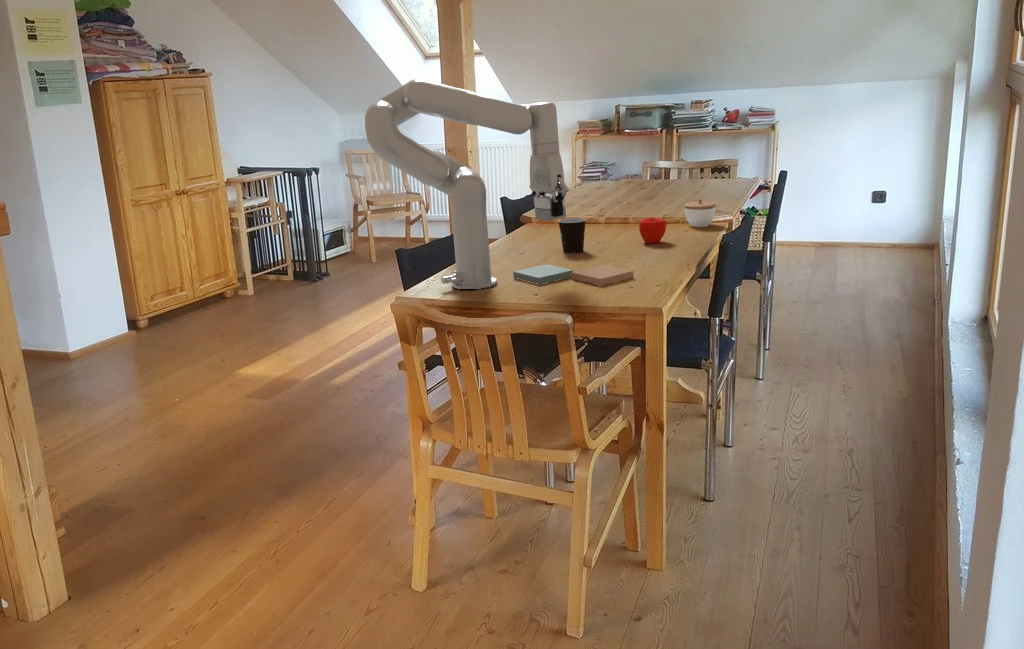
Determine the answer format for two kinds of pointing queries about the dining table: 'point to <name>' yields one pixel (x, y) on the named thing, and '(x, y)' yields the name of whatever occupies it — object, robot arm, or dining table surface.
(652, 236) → the apple
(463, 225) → the robot arm
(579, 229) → the coffee mug
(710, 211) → the lidded jar
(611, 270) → the stand
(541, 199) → the housing
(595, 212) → the dining table surface
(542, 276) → the stand
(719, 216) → the dining table surface
